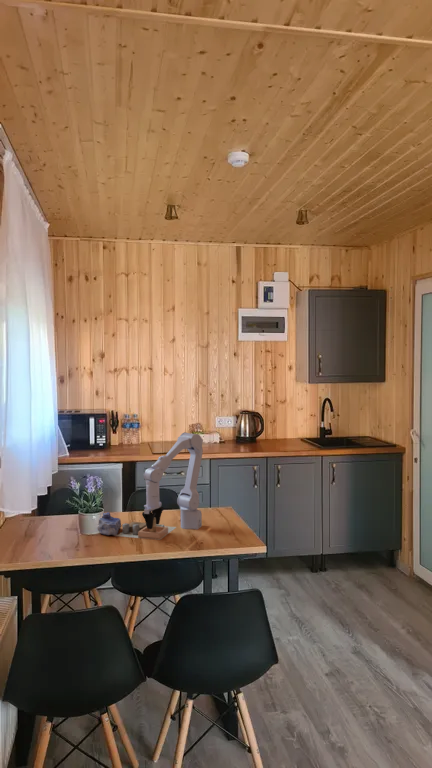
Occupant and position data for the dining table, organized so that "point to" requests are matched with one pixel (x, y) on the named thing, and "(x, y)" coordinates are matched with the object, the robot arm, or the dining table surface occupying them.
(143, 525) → the square tan tile
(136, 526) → the jig board
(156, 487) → the robot arm
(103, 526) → the mineral
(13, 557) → the dining table surface
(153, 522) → the dowel
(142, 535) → the tray
